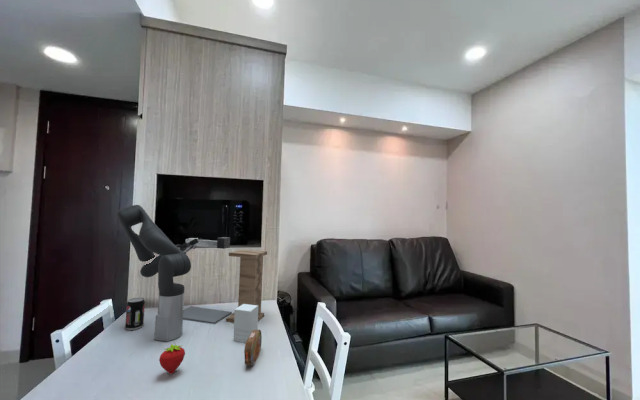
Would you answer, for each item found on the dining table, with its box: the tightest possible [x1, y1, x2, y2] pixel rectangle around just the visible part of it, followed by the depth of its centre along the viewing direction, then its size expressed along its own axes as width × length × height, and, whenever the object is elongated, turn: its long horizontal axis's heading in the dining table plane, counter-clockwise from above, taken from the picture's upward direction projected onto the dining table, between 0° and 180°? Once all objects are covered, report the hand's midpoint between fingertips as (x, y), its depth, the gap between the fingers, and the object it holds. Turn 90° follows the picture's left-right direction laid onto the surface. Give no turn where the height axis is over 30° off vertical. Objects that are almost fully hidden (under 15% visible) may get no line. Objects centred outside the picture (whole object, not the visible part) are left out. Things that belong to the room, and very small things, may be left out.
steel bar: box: [185, 236, 231, 249], centre depth 141 cm, size 5×23×5 cm, turn 76°
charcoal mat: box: [183, 305, 233, 325], centre depth 136 cm, size 14×24×1 cm, turn 76°
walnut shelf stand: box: [225, 249, 268, 324], centre depth 134 cm, size 12×14×32 cm
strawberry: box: [158, 340, 186, 375], centre depth 88 cm, size 6×8×10 cm
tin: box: [243, 329, 263, 366], centre depth 99 cm, size 15×3×8 cm, turn 179°
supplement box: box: [233, 304, 259, 343], centre depth 114 cm, size 7×7×13 cm
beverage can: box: [124, 297, 146, 331], centre depth 120 cm, size 7×7×12 cm
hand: (199, 239), depth 142 cm, fingers closed on steel bar, 3 cm apart
